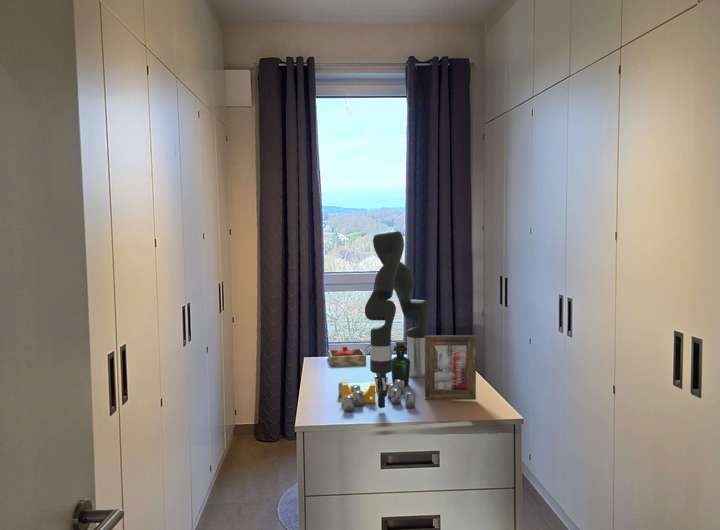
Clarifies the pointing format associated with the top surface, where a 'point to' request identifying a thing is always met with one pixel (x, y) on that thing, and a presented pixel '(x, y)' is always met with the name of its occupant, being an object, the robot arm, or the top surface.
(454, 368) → the picture frame
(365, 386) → the pad
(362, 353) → the frame
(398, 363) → the potion bottle
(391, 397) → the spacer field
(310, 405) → the top surface
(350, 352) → the butter dish
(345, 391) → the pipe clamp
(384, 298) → the robot arm
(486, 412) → the top surface
